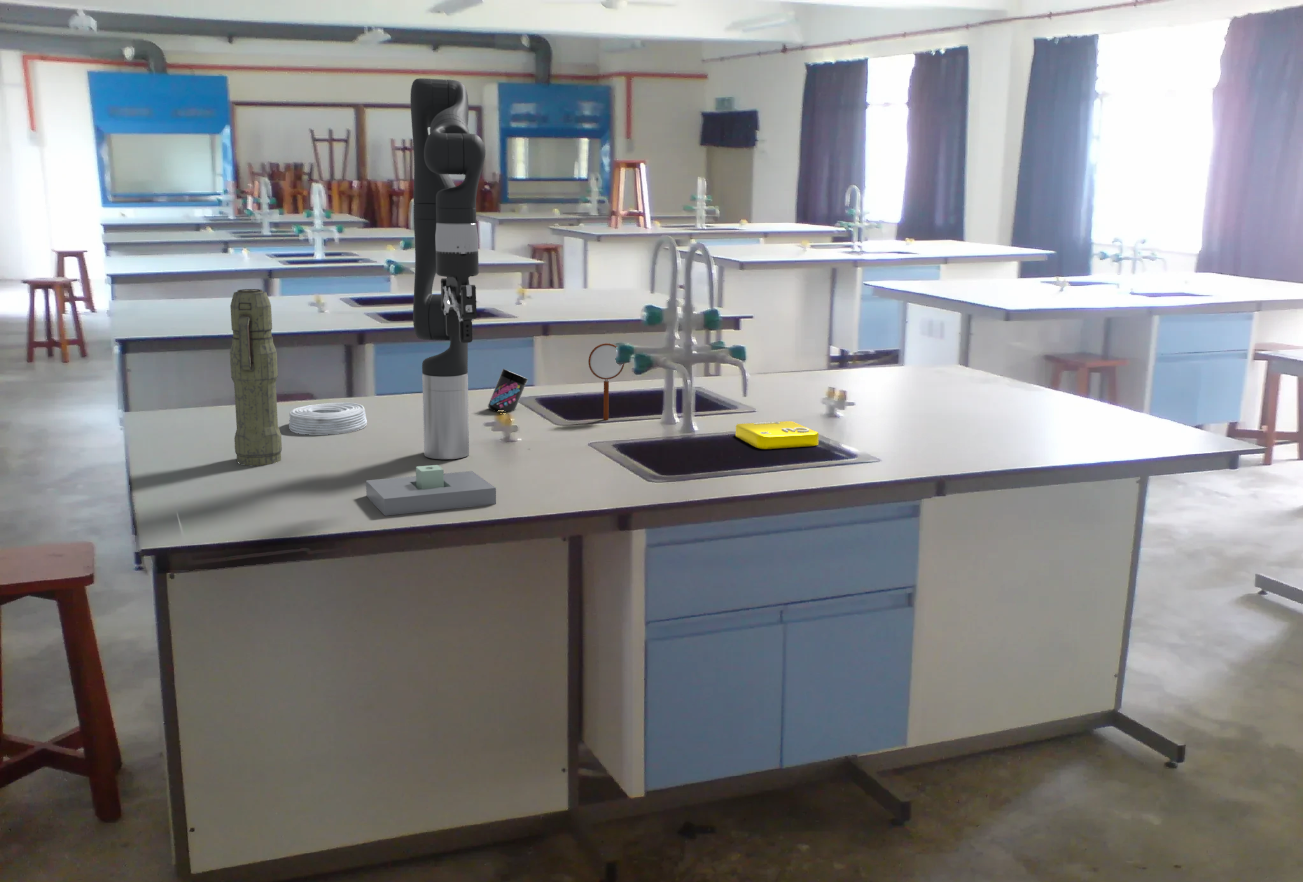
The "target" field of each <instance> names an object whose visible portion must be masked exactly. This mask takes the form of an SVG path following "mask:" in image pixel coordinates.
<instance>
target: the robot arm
mask: <svg viewBox="0 0 1303 882" xmlns="http://www.w3.org/2000/svg"><path fill="white" fill-rule="evenodd" d="M410 87H411V88H410V101H409V103H410V116H411V117H410V118H411V119H410V120H411V133H412V148H413V169H414V170H413V230H414V231H413V233H414V258H415V260H414V261H415V262H414V268H415V269H414V284H413V285H414V286H413V302H412V303H413V308H412V322H413V323H412V324H413V330H414V334H415V336H416V337H417V339H419V340H422V341H423V340H424V341H425V340H426V341H449V342H450V343H449V347H448V348H447V349H446V350H444V351H442V352H440V353H438V354H436V355H435V354H434V355H432V356H429V357H426V358H425V359H423V361H422V364H421V373H422V374H421V376H422V379H421V381H422V411H423V413H422V414H423V417H422V418H423V419H422V420H423V452H424V453H423V455H424V457H426V458H429V459H433V460H455V459H457V460H458V459H462V458H465V457H466V458H467V457H469V455H470V437H469V436H470V430H469V429H470V428H469V427H470V426H469V425H470V423H469V421H470V419H469V416H470V415H469V376H468V375H469V372H468V368H469V367H468V365H469V364H468V361H469V348H468V347H469V343H472V342H473V322H474V320H476V319H477V317H478V314H477V291H476V290H477V287H476V285H475V284H470V280H469V278H470V277H475V276H478V275H479V273H480V271H479V270H480V269H479V266H480V265H479V235H478V227H477V225H478V224H477V194H478V193H477V192H478V188H479V187H478V186H479V184H480V183H479V181H480V178H481V173H482V170H483V167H484V163H485V160H486V159H485V158H486V146H485V143H484V141H483V139H482V138H481V137H480V136H479V135H477V134H475V133H470V130H469V127H468V124H469V109H470V108H469V95H468V91H467V88H466V86H465V85H464V84H463V83H462V82H460V81H457V80H455V79H438V78H424V77H423V78H421V77H420V78H416V79H414V80H413V81H412V84H411V86H410ZM428 129H429V130H428ZM450 175H461V176H462V175H463V176H464V179H463V181H462V183H460V184H459V185H455V183H454V181H453V179H452V178H451V177H450ZM436 275H437V276H439V277H444V278H440V294H433V286H434V281H435V277H436Z"/></svg>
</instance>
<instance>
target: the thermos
mask: <svg viewBox="0 0 1303 882" xmlns="http://www.w3.org/2000/svg"><path fill="white" fill-rule="evenodd" d="M267 293H268V292H267V291H263V289H259V288H248V289H247V288H245V289H237V291H234V292H233V294H232V298H231V302H230V306H229V307H230V321H231V330H232V336H231V340H232V341H231V342H232V344H231V347H230V350H229V360H230V378H231V380H232V382H233V386H234V406H235V421H236V431H235V433H234V453H235V454H236V462H239V463H240V464H239V465H241V464H245V465H244V466H246V465H255V466H254V467H258V466H259V467H260V465H261V466H268V465H274V464H277V463H279V462H281V460H282V450H283V445H282V443H283V442H282V434H281V430H280V427H279V424H278V423H279V422H278V404H277V403H278V402H277V401H278V400H277V386H276V385H277V384H276V382H277V380H278V378H279V377H278V376H279V375H278V374H279V372H278V371H279V370H278V353H277V349H276V346H275V344H274V337H273V335H272V330H273V318H272V317H273V316H272V304H271V301H270V299H269V296H268V294H267ZM276 462H277V463H276ZM257 465H258V466H257Z"/></svg>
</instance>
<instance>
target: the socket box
mask: <svg viewBox="0 0 1303 882" xmlns="http://www.w3.org/2000/svg"><path fill="white" fill-rule="evenodd" d="M365 489H366V490H365V491H366V493H365V494H366V497H367V498H368V499H369V501H370V502H371V503H372V504H373V505H374V506H375V507H376V508H377V509H378V510H379V512H381V513H382V515H383V516H394V515H396V516H397V515H406V514H413V513H415V514H416V513H423V512H424V513H425V512H434V511H444V510H454V509H462V508H472V507H479V506H490V505H489V504H492V505H496V504H497V487H495V485H493V484H491V483H490V482H488V481H487V480H486V479H484V478H483V477H481V476H480V475H479V474H477V473H476V472H474V471H473V470H469V471H458V472H455V471H454V472H445V473H444V487H441V488H430V489H420V490H418V489H417V488H416V475H413V476H412V475H411V476H402V477H401V476H400V477H391V478H389V477H388V478H381V479H380V478H378V479H370V480H369V479H367V480H365Z"/></svg>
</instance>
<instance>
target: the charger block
mask: <svg viewBox="0 0 1303 882" xmlns="http://www.w3.org/2000/svg"><path fill="white" fill-rule="evenodd" d="M444 472H445V471H444V469H443V468H442V466H440V465H438V464H432V465H418V466H415V476H416V488H417V489H418V490H420V489H430V488H441V487H444Z"/></svg>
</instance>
